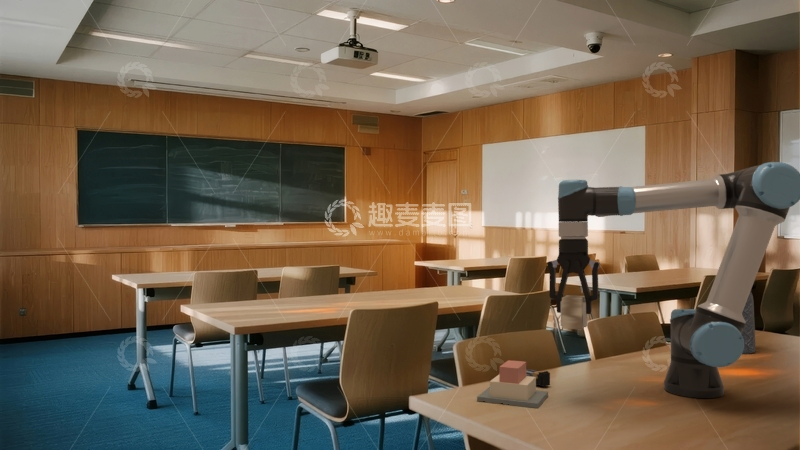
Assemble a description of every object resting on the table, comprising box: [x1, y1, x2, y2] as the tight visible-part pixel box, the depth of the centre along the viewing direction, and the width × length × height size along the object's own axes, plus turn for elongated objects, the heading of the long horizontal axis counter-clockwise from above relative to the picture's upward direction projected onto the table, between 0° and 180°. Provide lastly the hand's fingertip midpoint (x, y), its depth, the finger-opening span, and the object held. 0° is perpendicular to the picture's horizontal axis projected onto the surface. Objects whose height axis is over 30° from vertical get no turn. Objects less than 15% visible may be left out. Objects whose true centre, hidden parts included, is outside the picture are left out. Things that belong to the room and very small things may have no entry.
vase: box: [742, 290, 757, 355], centre depth 235 cm, size 12×12×28 cm
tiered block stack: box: [476, 359, 549, 409], centre depth 170 cm, size 16×13×9 cm
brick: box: [561, 294, 585, 331], centre depth 168 cm, size 5×7×8 cm
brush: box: [526, 368, 551, 387], centre depth 187 cm, size 6×4×15 cm
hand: (574, 325), depth 168 cm, fingers closed on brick, 5 cm apart
